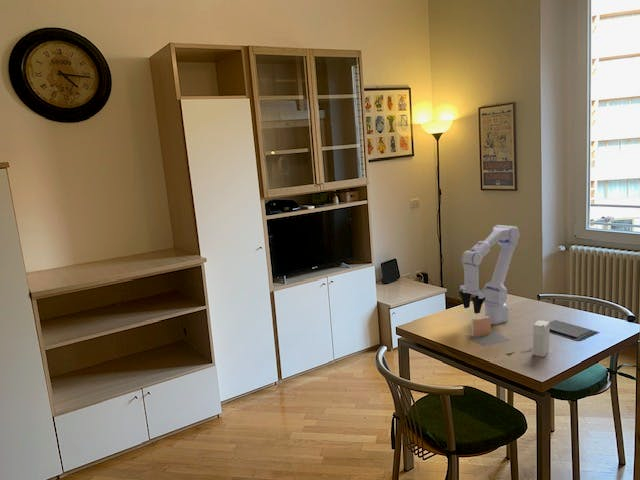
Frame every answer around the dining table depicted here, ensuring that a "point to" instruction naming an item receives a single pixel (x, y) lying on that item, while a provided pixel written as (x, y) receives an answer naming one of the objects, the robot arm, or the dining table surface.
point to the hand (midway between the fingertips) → (471, 310)
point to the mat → (488, 338)
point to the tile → (481, 326)
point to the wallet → (570, 331)
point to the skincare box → (541, 338)
